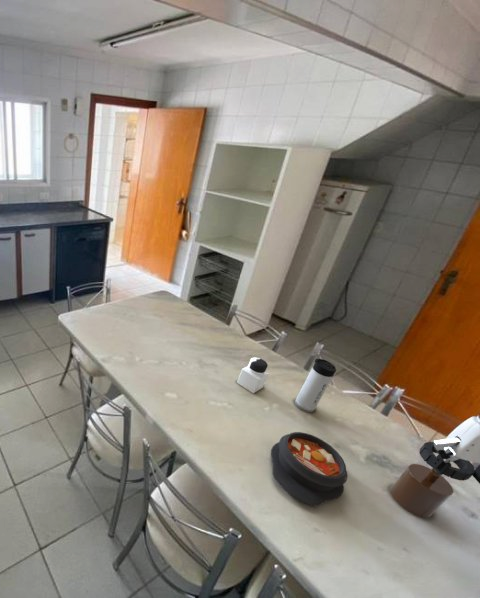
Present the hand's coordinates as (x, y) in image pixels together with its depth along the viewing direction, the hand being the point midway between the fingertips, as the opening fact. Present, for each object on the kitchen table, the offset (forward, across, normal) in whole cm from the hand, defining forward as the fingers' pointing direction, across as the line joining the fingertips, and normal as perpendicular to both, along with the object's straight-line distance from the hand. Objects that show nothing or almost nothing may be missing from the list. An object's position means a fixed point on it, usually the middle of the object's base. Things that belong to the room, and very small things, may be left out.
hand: (456, 474), depth 80 cm
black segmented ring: (+1, 0, -4) cm, 4 cm away
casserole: (+18, +27, -4) cm, 32 cm away
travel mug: (+17, +18, -35) cm, 43 cm away
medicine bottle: (+18, +36, -40) cm, 56 cm away
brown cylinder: (+17, 0, -4) cm, 18 cm away
